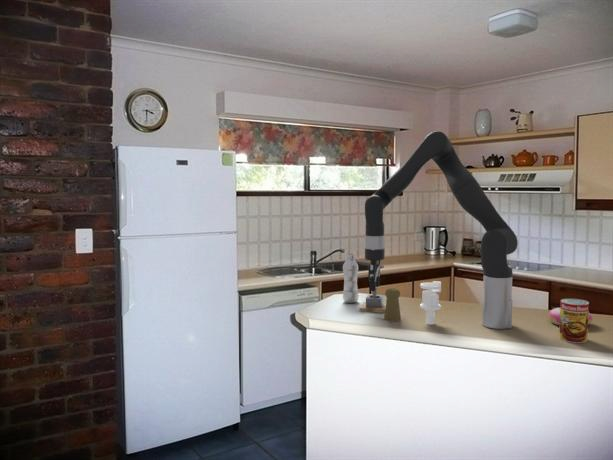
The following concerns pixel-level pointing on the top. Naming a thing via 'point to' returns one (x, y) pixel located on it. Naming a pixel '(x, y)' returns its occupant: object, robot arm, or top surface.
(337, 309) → the top surface
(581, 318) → the canned food
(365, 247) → the robot arm
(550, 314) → the donut
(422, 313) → the top surface
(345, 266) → the plastic bottle
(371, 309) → the toggle switch
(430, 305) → the strainer
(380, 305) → the grey hollow square block
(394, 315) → the cork
